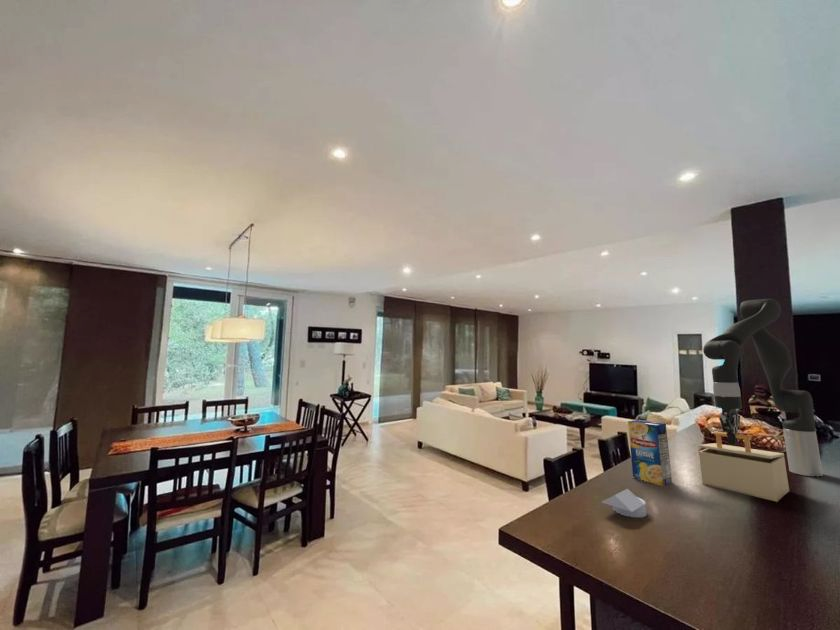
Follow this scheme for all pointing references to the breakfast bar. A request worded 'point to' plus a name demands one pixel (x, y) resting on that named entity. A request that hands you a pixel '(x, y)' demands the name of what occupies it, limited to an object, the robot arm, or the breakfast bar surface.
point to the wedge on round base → (627, 504)
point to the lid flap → (739, 450)
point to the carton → (744, 473)
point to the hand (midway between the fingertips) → (733, 443)
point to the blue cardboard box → (650, 451)
